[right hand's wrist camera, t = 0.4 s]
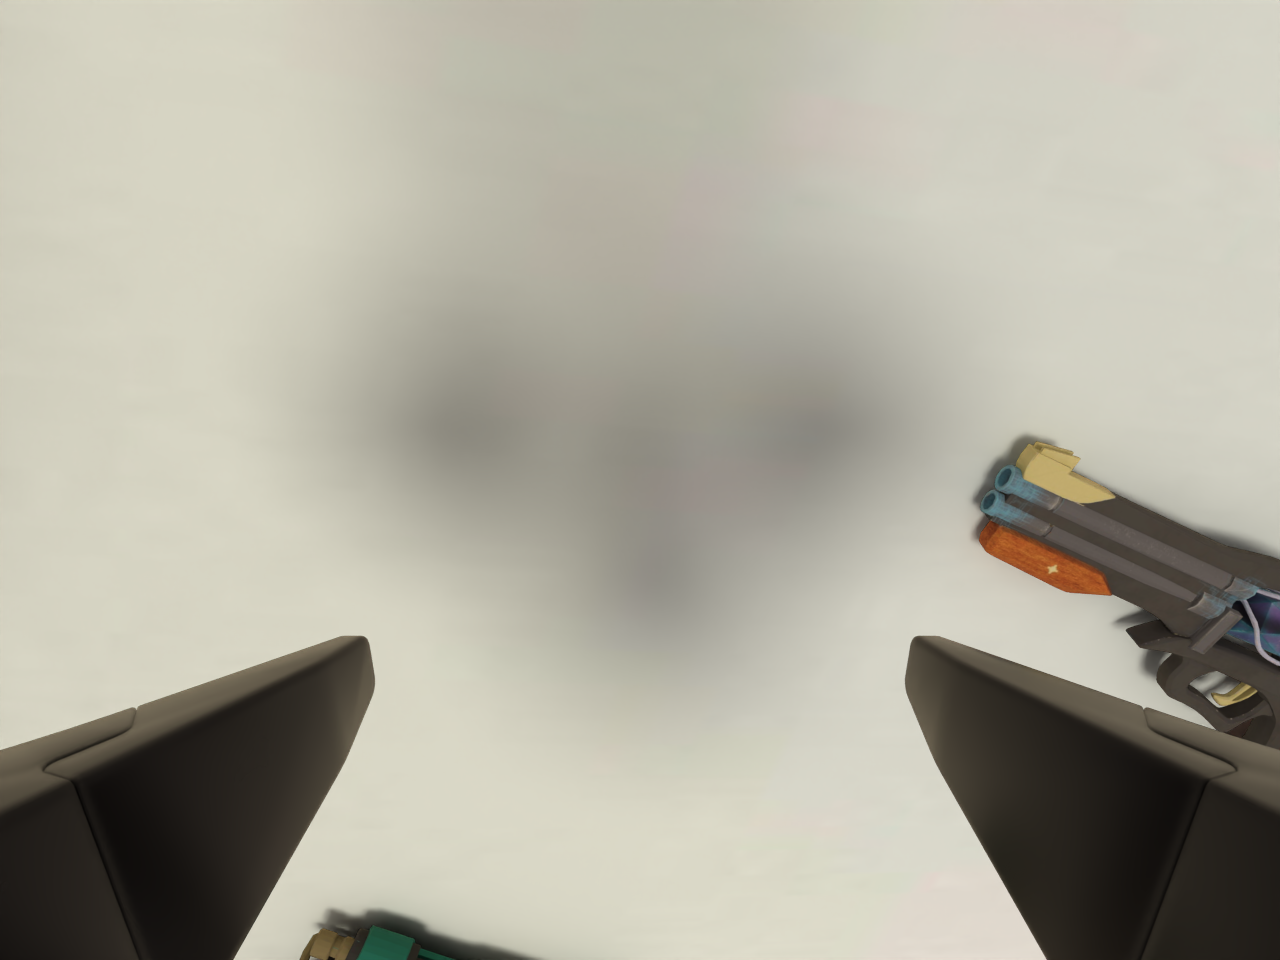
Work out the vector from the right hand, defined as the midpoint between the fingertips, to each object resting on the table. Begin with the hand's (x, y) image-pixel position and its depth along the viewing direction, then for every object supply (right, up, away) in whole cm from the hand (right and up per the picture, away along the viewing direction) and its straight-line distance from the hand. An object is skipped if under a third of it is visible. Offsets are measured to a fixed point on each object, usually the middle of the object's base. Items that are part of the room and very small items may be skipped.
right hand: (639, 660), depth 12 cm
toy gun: (+20, -3, +16) cm, 26 cm away
